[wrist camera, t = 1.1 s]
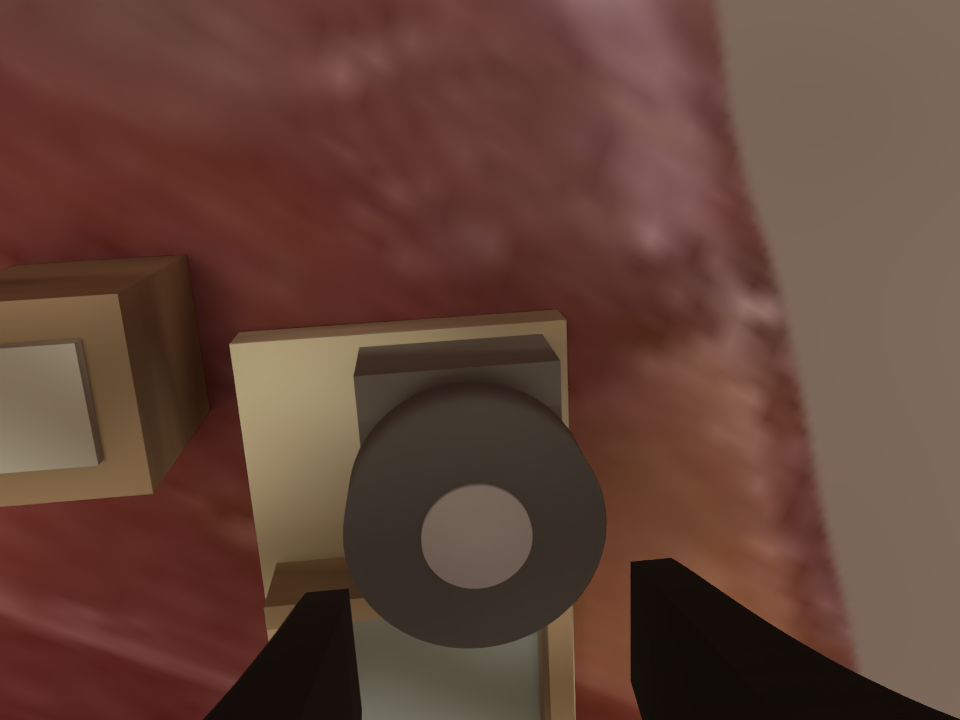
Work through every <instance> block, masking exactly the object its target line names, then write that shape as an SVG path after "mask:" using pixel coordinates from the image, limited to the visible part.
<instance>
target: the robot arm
mask: <svg viewBox="0 0 960 720" xmlns="http://www.w3.org/2000/svg"><path fill="white" fill-rule="evenodd" d="M631 683H632V687H633V690H634V693H635V697H636V700H637V704H638V707H639V710H640V714H641V717H642V720H960V719H958V718H955V717H953V716H950V715H948V714H945V713H943V712H940V711H938V710H935V709H933V708H930V707H928V706H926V705H923V704H921V703H919V702H916V701H914V700H912V699H909V698H907V697H905V696H903V695H901V694H899V693H896V692H894V691H892V690H890V689H888V688H886V687H884V686H882V685H880V684H878V683H876V682H873V681H871V680H869V679H867V678H865V677H863V676H861V675H859V674H857V673H855V672H853V671H851V670H849V669H847V668H845V667H843V666H842V665H840V664H838V663H836V662H834V661H832V660H830V659H829V658H827V657H825V656H823V655H822V654H820V653H818V652H817V651H815V650H813V649H811V648H810V647H808V646H806V645H804V644H803V643H801V642H799V641H797V640H796V639H794V638H792V637H791V636H789V635H787V634H786V633H784V632H783V631H781V630H779V629H778V628H776V627H774V626H773V625H771V624H770V623H768V622H767V621H765V620H764V619H762V618H760V617H759V616H757V615H756V614H754V613H753V612H751V611H750V610H748V609H747V608H745V607H744V606H742V605H741V604H739V603H738V602H736V601H735V600H733V599H732V598H730V597H729V596H727V595H726V594H725V593H723V592H722V591H720V590H719V589H717V588H716V587H714V586H713V585H711V584H710V583H709V582H707V581H706V580H704V579H703V578H701V577H700V576H698V575H697V574H695V573H694V572H693V571H691V570H690V569H688V568H687V567H685V566H683V565H682V564H680V563H679V562H677V561H675V560H674V559H672V558H666V559H655V560H644V561H634V562H631ZM203 720H362V705H361V696H360V687H359V677H358V668H357V659H356V650H355V641H354V632H353V622H352V613H351V604H350V595H349V588H348V589H338V590H327V591H316V592H306V593H305V594H304V595H303V597H302V598H301V599H300V600H299V601H298V602H297V604H296V605H295V607H294V608H293V609H292V611H291V612H290V613H289V615H288V616H287V618H286V619H285V620H284V622H283V623H282V625H281V626H280V627H279V629H278V630H277V631H276V633H275V634H274V635H273V637H272V638H271V639H270V641H269V642H268V643H267V645H266V646H265V647H264V649H263V650H262V651H261V652H260V654H259V655H258V656H257V657H256V659H255V660H254V661H253V662H252V664H251V665H250V666H249V667H248V669H247V670H246V671H245V672H244V674H243V675H242V676H241V677H240V678H239V680H238V681H237V682H236V683H235V684H234V686H233V687H232V688H231V689H230V690H229V691H228V693H227V694H226V695H225V696H224V697H223V698H222V699H221V700H220V701H219V702H218V704H217V705H216V706H215V707H214V708H213V709H212V710H211V711H210V712H209V714H208V715H207V716H206V717H205V718H204V719H203Z"/></svg>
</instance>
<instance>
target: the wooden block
mask: <svg viewBox="0 0 960 720" xmlns="http://www.w3.org/2000/svg"><path fill="white" fill-rule="evenodd" d="M209 412H210V406H209V399H208V393H207V386H206V380H205V373H204V367H203V360H202V353H201V347H200V340H199V334H198V327H197V320H196V314H195V307H194V301H193V294H192V287H191V281H190V274H189V268H188V261H187V255H186V254H183V255H167V256H151V257H136V258H120V259H104V260H89V261H73V262H57V263H42V264H26V265H14V266H11V267H8V268H5V269H2V270H0V507H3V506H15V505H27V504H38V503H50V502H62V501H74V500H86V499H97V498H109V497H121V496H133V495H144V494H153V493H154V492H155V490H156V489H157V487H158V486H159V484H160V483H161V481H162V480H163V479H164V477H165V476H166V474H167V473H168V471H169V470H170V468H171V467H172V465H173V464H174V463H175V461H176V460H177V458H178V457H179V455H180V454H181V452H182V451H183V449H184V448H185V447H186V445H187V444H188V442H189V441H190V439H191V438H192V436H193V435H194V433H195V432H196V430H197V429H198V428H199V426H200V425H201V423H202V422H203V420H204V419H205V417H206V416H207V414H208V413H209Z"/></svg>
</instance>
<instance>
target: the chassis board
mask: <svg viewBox="0 0 960 720" xmlns="http://www.w3.org/2000/svg"><path fill="white" fill-rule="evenodd" d="M229 346H230V353H231V360H232V367H233V374H234V381H235V388H236V395H237V402H238V409H239V416H240V423H241V430H242V437H243V444H244V451H245V458H246V465H247V472H248V480H249V487H250V494H251V501H252V508H253V515H254V522H255V529H256V536H257V543H258V550H259V557H260V564H261V571H262V578H263V585H264V592H265V599H266V601H265V604H264V614H265V621H266V628H267V635H268V642H269V641H270V639H271V638H272V637H273V635H274V634H275V633H276V631H277V630H278V629H279V627H280V626H281V625H282V623H283V622H284V620H285V619H286V618H287V616H288V615H289V613H290V612H291V611H292V609H293V608H294V607H295V605H296V604H297V602H298V601H299V600H300V599H301V598H302V597H303V595H304V594H305V593H306V592H316V591H327V590H338V589H348V588H349V595H350V604H351V613H352V622H353V632H354V641H355V650H356V659H357V668H358V677H359V687H360V696H361V705H362V720H576V712H575V669H574V627H573V605H572V606H571V607H570V608H569V609H568V610H567V611H565V612H564V613H563V614H562V615H561V616H560V617H559V618H557V619H556V620H555V621H553V622H552V623H550V624H549V625H547V626H546V627H544V628H542V629H541V630H539V631H537V632H535V633H533V634H531V635H529V636H527V637H524V638H522V639H519V640H517V641H514V642H510V643H506V644H503V645H499V646H493V647H486V648H472V649H463V648H450V647H445V646H439V645H434V644H431V643H428V642H425V641H421V640H418V639H416V638H414V637H412V636H410V635H407V634H405V633H403V632H402V631H400V630H398V629H397V628H395V627H394V626H392V625H390V624H389V623H388V622H387V621H385V620H384V619H383V618H382V617H381V616H379V615H378V614H377V613H376V612H375V611H374V610H373V609H372V607H371V606H370V605H369V604H368V603H367V602H366V600H365V599H364V598H363V596H362V595H361V593H360V592H359V591H358V589H357V587H356V585H355V583H354V581H353V579H352V577H351V574H350V571H349V568H348V566H347V563H346V558H345V553H344V547H343V523H344V514H345V507H346V501H347V494H348V488H349V481H350V476H351V472H352V468H353V464H354V461H355V459H356V456H357V454H358V452H359V449H360V447H361V446H362V444H363V442H364V441H365V439H366V437H367V436H368V434H369V433H370V432H371V430H372V429H373V428H374V427H375V425H376V424H377V423H378V422H379V421H380V420H381V419H382V418H383V417H384V416H385V415H386V414H387V413H388V412H389V411H391V410H392V409H393V408H395V407H396V406H397V405H399V404H400V403H402V402H403V401H405V400H407V399H409V398H410V397H412V396H414V395H416V394H418V393H421V392H423V391H426V390H428V389H430V388H434V387H438V386H441V385H445V384H451V383H458V382H487V383H495V384H499V385H503V386H507V387H511V388H514V389H516V390H519V391H521V392H524V393H526V394H528V395H530V396H532V397H533V398H535V399H537V400H539V401H540V402H542V403H543V404H544V405H546V406H547V407H548V408H550V409H551V410H552V411H553V412H554V413H555V414H556V415H557V416H558V417H559V418H560V419H561V420H562V421H563V422H564V424H565V425H566V426H567V427H568V429H569V413H568V370H567V328H566V319H565V318H564V317H563V315H562V314H561V313H560V312H559V311H558V310H543V311H529V312H515V313H500V314H486V315H472V316H458V317H444V318H430V319H416V320H402V321H388V322H374V323H360V324H346V325H332V326H318V327H304V328H290V329H276V330H261V331H247V332H239V333H238V334H237V335H236V337H235V338H234V339H233V340H232V342H231V343H230V344H229Z"/></svg>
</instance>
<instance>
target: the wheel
mask: <svg viewBox="0 0 960 720" xmlns="http://www.w3.org/2000/svg"><path fill="white" fill-rule="evenodd" d="M605 538H606V510H605V504H604V499H603V495H602V491H601V488H600V486H599V483H598V481H597V478H596V476H595V474H594V472H593V471H592V469H591V467H590V465H589V463H588V462H587V460H586V458H585V456H584V454H583V453H582V451H581V449H580V447H579V445H578V444H577V442H576V440H575V438H574V437H573V435H572V433H571V431H570V430H569V429H568V427H567V426H566V425H565V424H564V422H563V421H562V420H561V419H560V418H559V417H558V416H557V415H556V414H555V413H554V412H553V411H552V410H551V409H550V408H548V407H547V406H546V405H544V404H543V403H542V402H540V401H539V400H537V399H535V398H533V397H532V396H530V395H528V394H526V393H524V392H521V391H519V390H516V389H514V388H511V387H507V386H503V385H499V384H495V383H487V382H458V383H451V384H445V385H441V386H438V387H434V388H430V389H428V390H426V391H423V392H421V393H418V394H416V395H414V396H412V397H410V398H409V399H407V400H405V401H403V402H402V403H400V404H399V405H397V406H396V407H395V408H393V409H392V410H391V411H389V412H388V413H387V414H386V415H385V416H384V417H383V418H382V419H381V420H380V421H379V422H378V423H377V424H376V425H375V427H374V428H373V429H372V430H371V432H370V433H369V434H368V436H367V437H366V439H365V441H364V442H363V444H362V446H361V447H360V449H359V452H358V454H357V456H356V459H355V461H354V464H353V468H352V472H351V476H350V481H349V488H348V494H347V501H346V507H345V514H344V523H343V547H344V553H345V558H346V563H347V566H348V568H349V571H350V574H351V577H352V579H353V581H354V583H355V585H356V587H357V589H358V591H359V592H360V593H361V595H362V596H363V598H364V599H365V600H366V602H367V603H368V604H369V605H370V606H371V607H372V609H373V610H374V611H375V612H376V613H377V614H378V615H379V616H381V617H382V618H383V619H384V620H385V621H387V622H388V623H389V624H390V625H392V626H394V627H395V628H397V629H398V630H400V631H402V632H403V633H405V634H407V635H410V636H412V637H414V638H416V639H418V640H421V641H425V642H428V643H431V644H434V645H439V646H445V647H450V648H463V649H472V648H486V647H493V646H499V645H503V644H506V643H510V642H514V641H517V640H519V639H522V638H524V637H527V636H529V635H531V634H533V633H535V632H537V631H539V630H541V629H542V628H544V627H546V626H547V625H549V624H550V623H552V622H553V621H555V620H556V619H557V618H559V617H560V616H561V615H562V614H563V613H564V612H565V611H567V610H568V609H569V608H570V607H571V606H572V605H573V604H574V602H575V601H576V600H577V599H578V598H579V597H580V596H581V594H582V593H583V591H584V590H585V589H586V587H587V586H588V584H589V583H590V581H591V579H592V577H593V575H594V573H595V571H596V569H597V567H598V564H599V561H600V558H601V556H602V553H603V548H604V543H605Z"/></svg>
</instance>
